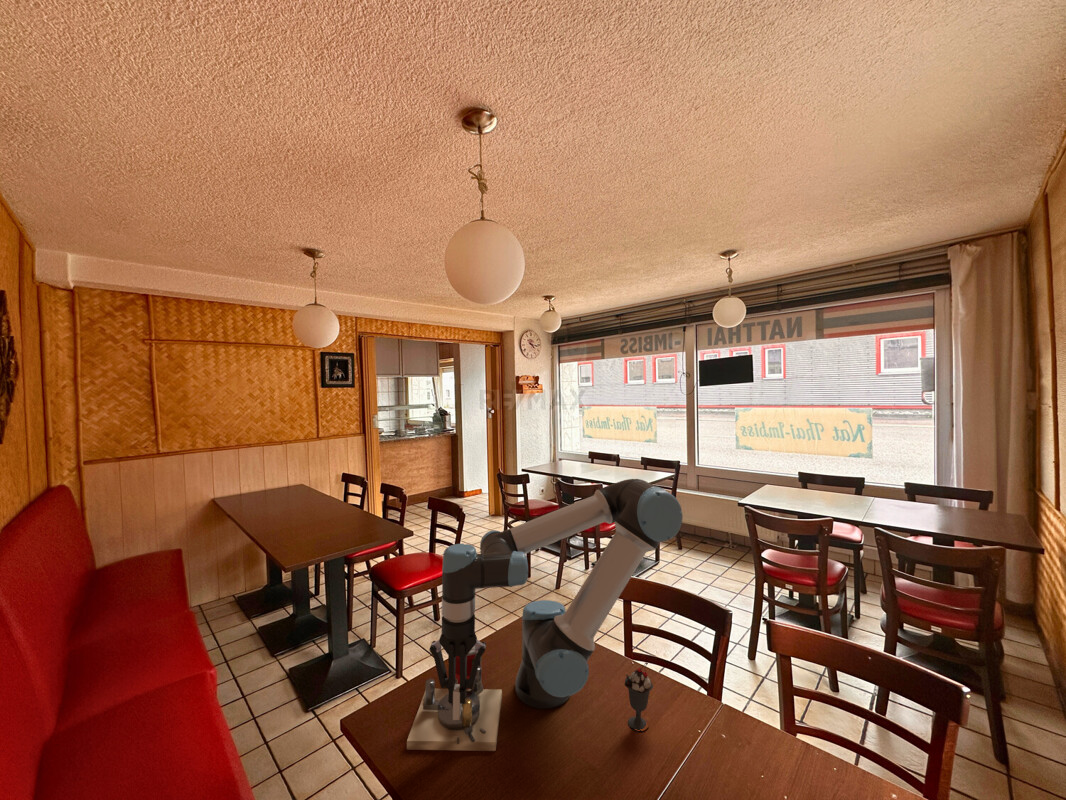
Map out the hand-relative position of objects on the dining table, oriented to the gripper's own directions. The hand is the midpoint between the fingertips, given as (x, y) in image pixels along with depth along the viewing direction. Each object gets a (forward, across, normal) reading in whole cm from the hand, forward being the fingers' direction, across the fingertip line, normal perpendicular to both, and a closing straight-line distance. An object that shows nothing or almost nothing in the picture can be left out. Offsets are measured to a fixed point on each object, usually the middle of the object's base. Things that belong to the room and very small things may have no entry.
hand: (457, 715), depth 102 cm
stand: (+6, +1, -6) cm, 9 cm away
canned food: (+6, +1, -20) cm, 21 cm away
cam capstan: (+4, 0, -5) cm, 6 cm away
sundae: (+6, -43, -6) cm, 44 cm away
